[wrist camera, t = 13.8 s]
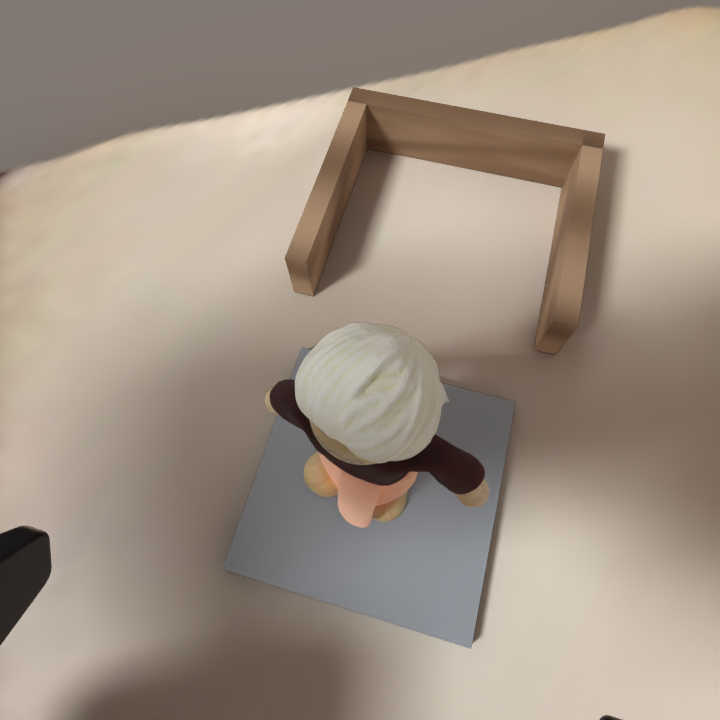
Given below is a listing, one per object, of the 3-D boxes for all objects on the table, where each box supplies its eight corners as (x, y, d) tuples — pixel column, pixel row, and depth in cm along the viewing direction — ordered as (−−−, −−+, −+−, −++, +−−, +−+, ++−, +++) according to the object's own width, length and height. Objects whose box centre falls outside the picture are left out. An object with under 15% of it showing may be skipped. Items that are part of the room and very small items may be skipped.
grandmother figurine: (269, 504, 21) (144, 418, 10) (296, 418, 23) (216, 252, 11) (452, 554, 21) (557, 525, 9) (469, 460, 22) (578, 329, 10)
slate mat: (468, 646, 20) (471, 648, 19) (226, 569, 21) (222, 569, 21) (512, 406, 23) (515, 402, 23) (303, 352, 25) (301, 347, 24)
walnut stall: (555, 354, 24) (578, 326, 22) (294, 291, 26) (284, 257, 23) (582, 177, 28) (605, 134, 26) (355, 132, 30) (353, 87, 27)
